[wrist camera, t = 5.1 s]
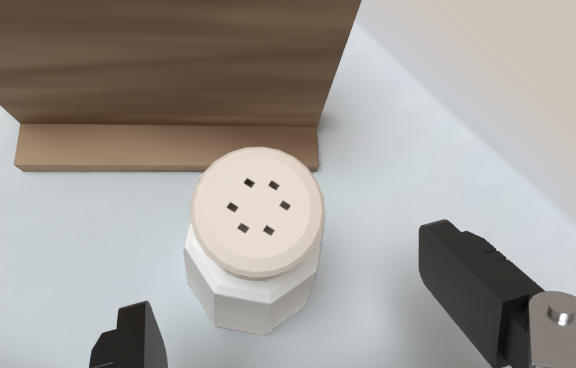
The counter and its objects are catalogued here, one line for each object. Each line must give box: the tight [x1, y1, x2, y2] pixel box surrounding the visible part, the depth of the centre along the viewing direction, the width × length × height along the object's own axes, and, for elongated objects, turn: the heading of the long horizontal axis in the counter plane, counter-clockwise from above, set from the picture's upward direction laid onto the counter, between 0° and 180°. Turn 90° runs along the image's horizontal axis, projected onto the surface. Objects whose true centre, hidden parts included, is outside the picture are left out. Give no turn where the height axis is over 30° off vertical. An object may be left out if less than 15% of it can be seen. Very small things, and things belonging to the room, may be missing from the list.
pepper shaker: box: [184, 147, 325, 335], centre depth 15 cm, size 5×5×11 cm
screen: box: [0, 0, 361, 172], centre depth 16 cm, size 5×13×12 cm, turn 92°
